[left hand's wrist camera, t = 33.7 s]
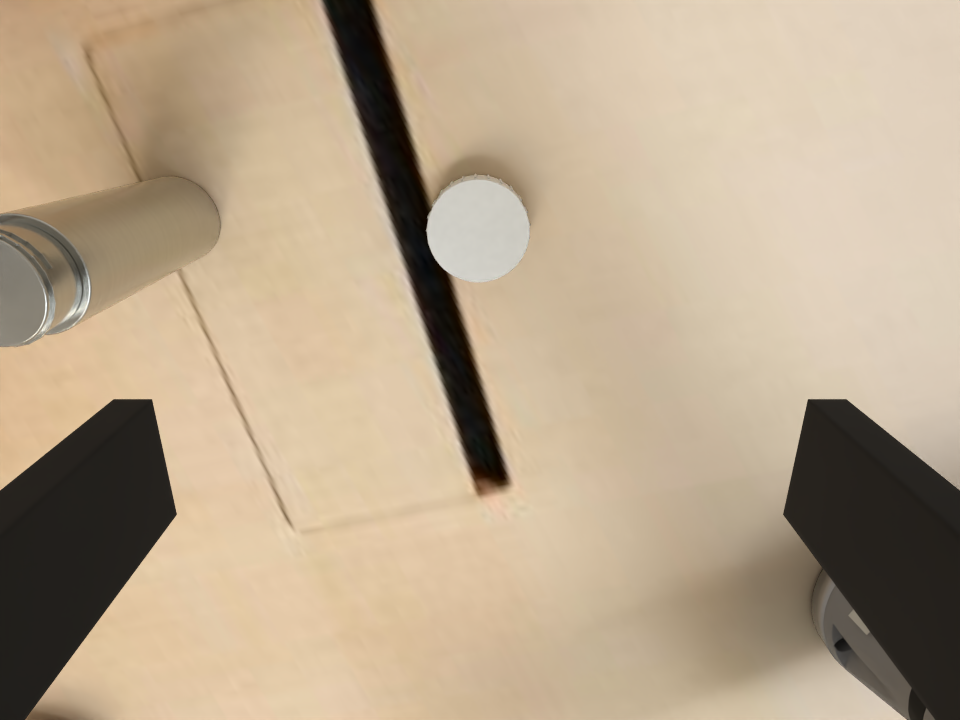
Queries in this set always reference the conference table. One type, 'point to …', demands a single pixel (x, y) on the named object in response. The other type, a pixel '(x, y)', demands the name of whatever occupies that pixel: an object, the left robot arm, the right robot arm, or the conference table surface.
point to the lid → (478, 228)
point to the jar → (96, 252)
